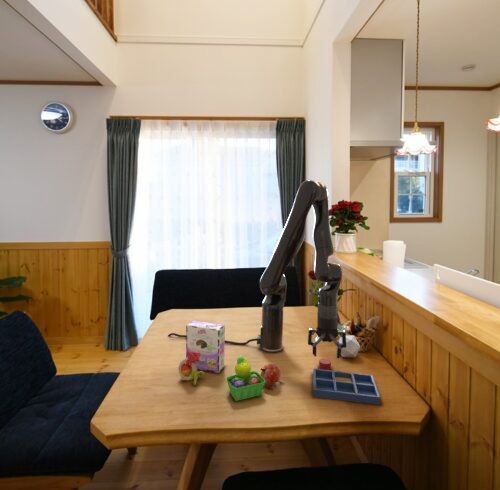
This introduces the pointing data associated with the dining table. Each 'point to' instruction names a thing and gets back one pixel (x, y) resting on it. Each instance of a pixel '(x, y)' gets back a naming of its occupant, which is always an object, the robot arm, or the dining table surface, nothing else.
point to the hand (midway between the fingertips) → (326, 356)
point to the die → (350, 346)
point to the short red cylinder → (324, 364)
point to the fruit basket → (245, 381)
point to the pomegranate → (270, 375)
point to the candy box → (206, 344)
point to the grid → (345, 386)
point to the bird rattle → (190, 367)
